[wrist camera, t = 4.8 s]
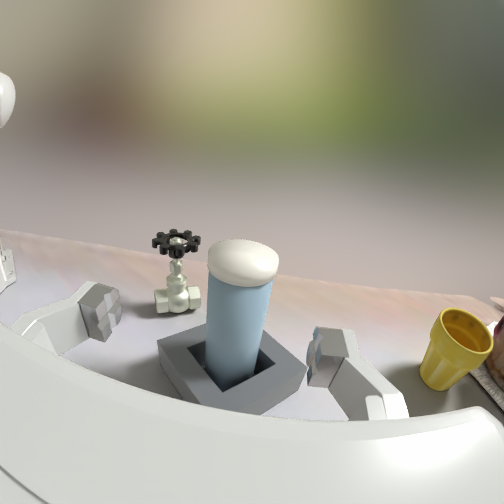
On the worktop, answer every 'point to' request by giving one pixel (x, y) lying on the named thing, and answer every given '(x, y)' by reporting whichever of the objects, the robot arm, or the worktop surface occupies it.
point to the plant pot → (454, 348)
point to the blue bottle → (236, 308)
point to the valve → (176, 273)
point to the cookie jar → (493, 365)
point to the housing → (244, 394)
